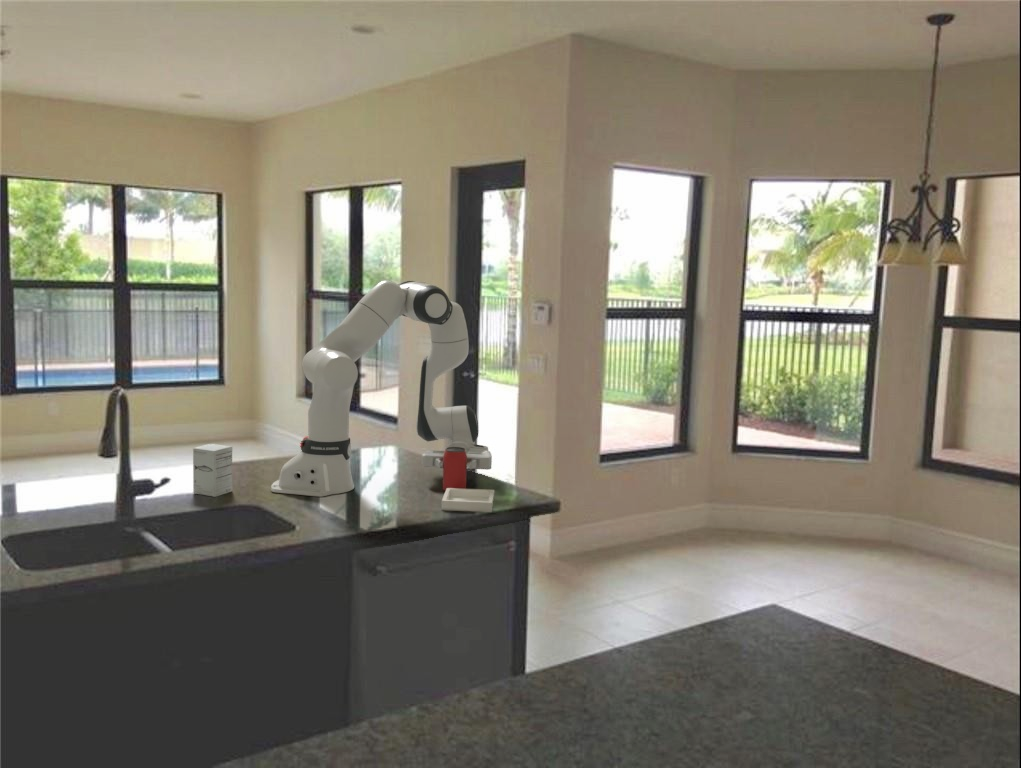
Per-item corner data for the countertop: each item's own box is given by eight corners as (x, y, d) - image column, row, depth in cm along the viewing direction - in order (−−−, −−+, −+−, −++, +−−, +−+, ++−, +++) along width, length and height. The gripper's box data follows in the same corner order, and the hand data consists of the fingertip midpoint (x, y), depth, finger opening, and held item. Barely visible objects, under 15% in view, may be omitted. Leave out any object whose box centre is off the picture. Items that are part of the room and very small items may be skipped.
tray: (441, 510, 217) (441, 500, 217) (446, 496, 230) (446, 487, 230) (491, 512, 217) (492, 502, 216) (493, 498, 230) (494, 489, 229)
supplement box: (192, 494, 224) (191, 447, 223) (211, 487, 231) (211, 442, 229) (214, 497, 221) (213, 450, 220) (233, 491, 228) (233, 445, 227)
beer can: (455, 494, 232) (456, 452, 231) (437, 490, 236) (438, 448, 235) (470, 490, 237) (471, 448, 236) (453, 486, 241) (454, 445, 240)
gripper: (424, 443, 249) (417, 453, 235) (493, 446, 248) (490, 456, 234) (423, 464, 249) (417, 475, 236) (492, 467, 249) (490, 478, 235)
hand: (454, 466), depth 235 cm, fingers closed on beer can, 7 cm apart
